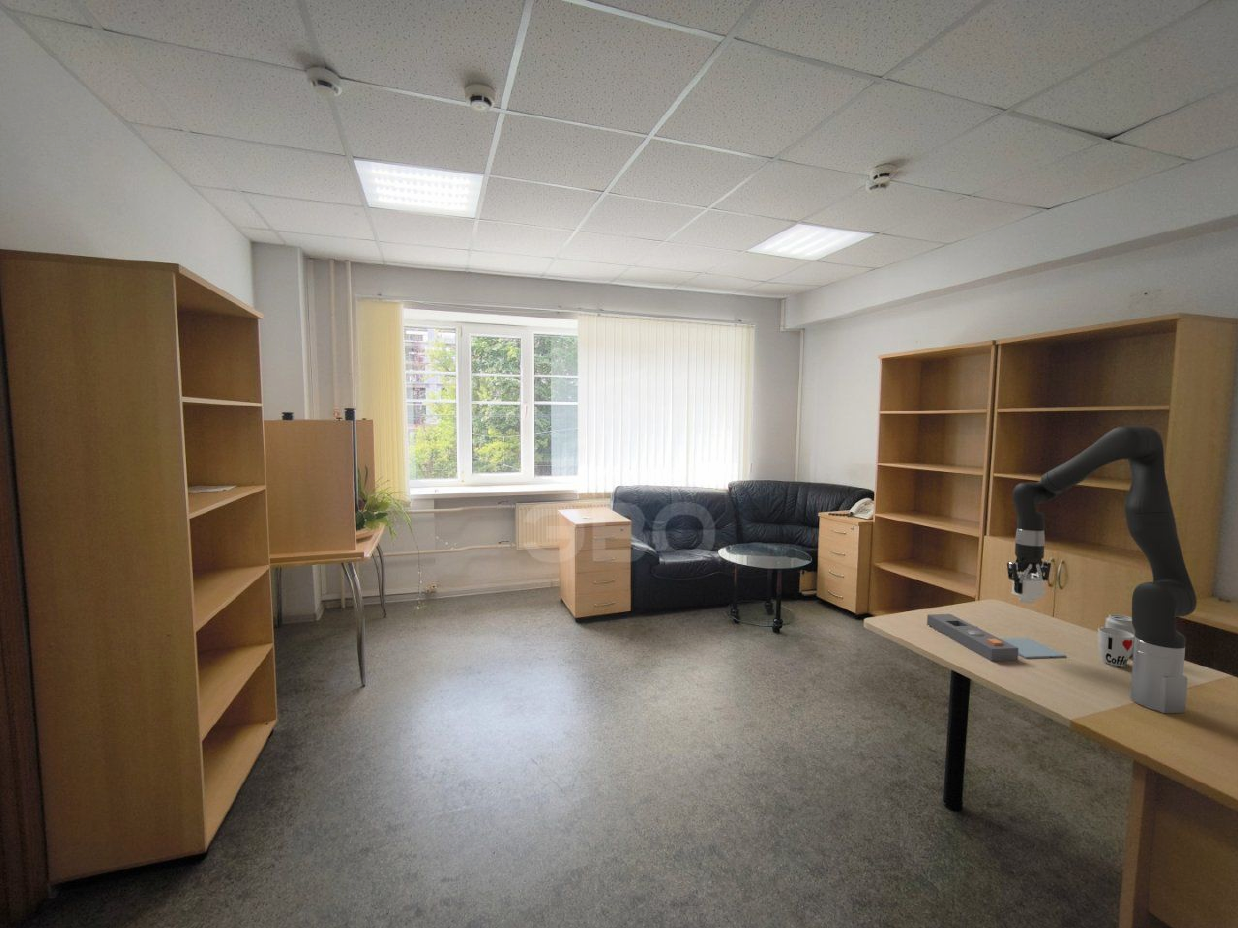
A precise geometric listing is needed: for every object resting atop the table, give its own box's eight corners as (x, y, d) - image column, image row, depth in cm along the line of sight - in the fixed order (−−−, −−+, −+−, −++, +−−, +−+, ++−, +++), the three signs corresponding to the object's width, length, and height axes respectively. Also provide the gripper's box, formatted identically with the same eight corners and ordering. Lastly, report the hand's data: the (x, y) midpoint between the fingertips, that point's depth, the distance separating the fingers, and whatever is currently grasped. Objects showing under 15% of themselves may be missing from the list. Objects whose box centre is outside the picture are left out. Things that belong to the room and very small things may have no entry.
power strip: (1017, 660, 162) (1018, 645, 162) (991, 661, 162) (991, 646, 161) (949, 624, 192) (950, 611, 192) (927, 624, 192) (927, 612, 191)
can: (1121, 648, 172) (1124, 613, 171) (1142, 658, 164) (1145, 621, 164) (1097, 647, 173) (1100, 612, 172) (1116, 656, 165) (1119, 620, 164)
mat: (1065, 657, 165) (1066, 655, 165) (1025, 658, 164) (1025, 656, 164) (1028, 639, 179) (1028, 637, 179) (990, 640, 178) (990, 638, 178)
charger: (1042, 603, 168) (1044, 575, 167) (1026, 604, 167) (1027, 575, 167) (1027, 598, 173) (1028, 570, 173) (1011, 598, 173) (1012, 571, 172)
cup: (1101, 665, 159) (1103, 634, 158) (1092, 655, 166) (1094, 625, 165) (1136, 671, 155) (1138, 639, 155) (1125, 660, 162) (1127, 630, 162)
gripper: (1019, 545, 165) (1017, 597, 166) (1060, 544, 166) (1058, 595, 167) (1000, 540, 172) (998, 590, 173) (1039, 540, 173) (1037, 588, 174)
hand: (1027, 592), depth 170 cm, fingers closed on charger, 5 cm apart
